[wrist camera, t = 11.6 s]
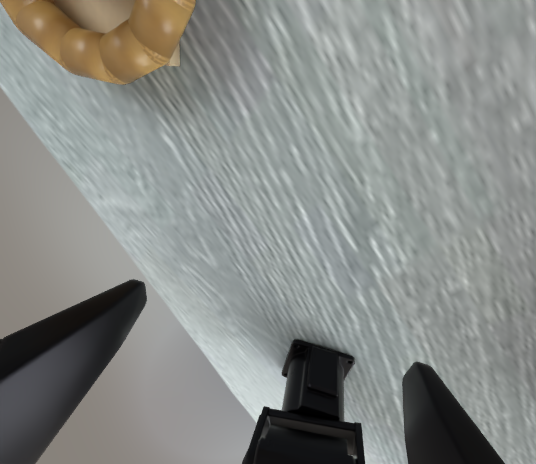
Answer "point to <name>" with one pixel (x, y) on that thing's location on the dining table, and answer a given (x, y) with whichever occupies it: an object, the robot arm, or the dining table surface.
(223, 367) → the dining table surface
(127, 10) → the stand
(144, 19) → the ring
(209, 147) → the dining table surface
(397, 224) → the dining table surface
